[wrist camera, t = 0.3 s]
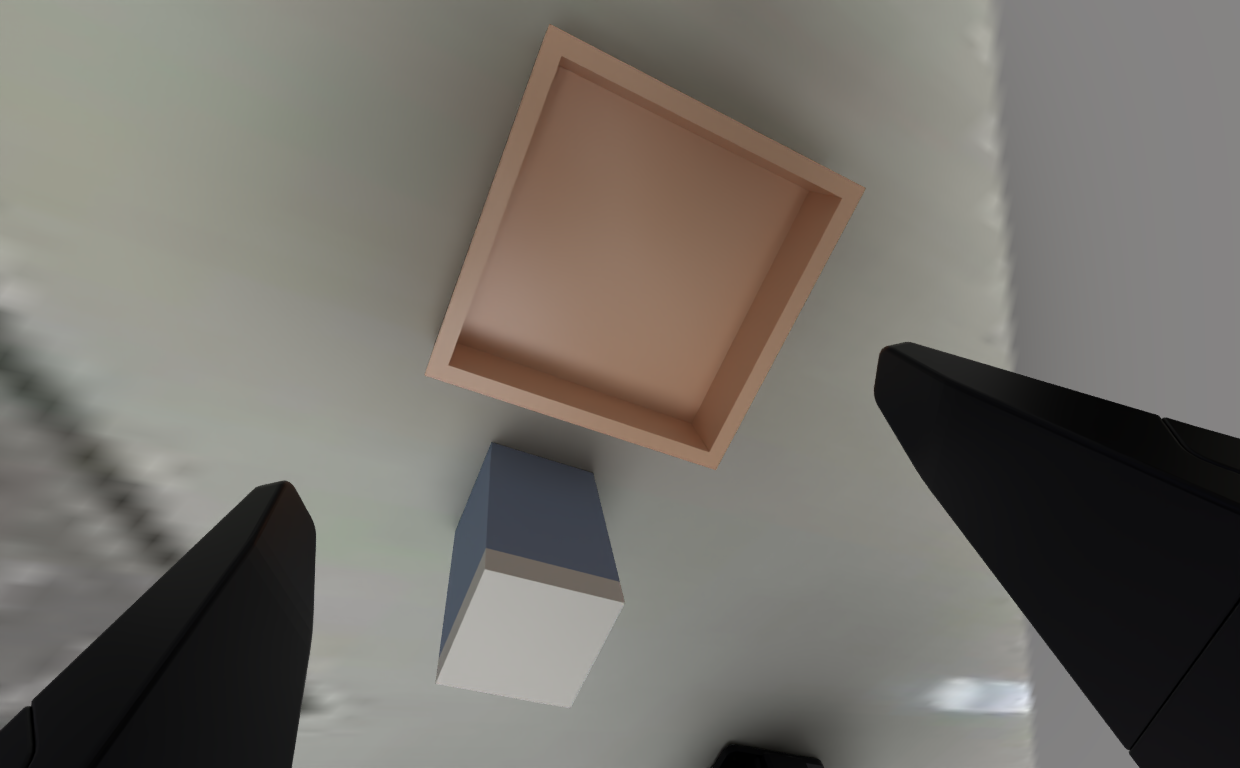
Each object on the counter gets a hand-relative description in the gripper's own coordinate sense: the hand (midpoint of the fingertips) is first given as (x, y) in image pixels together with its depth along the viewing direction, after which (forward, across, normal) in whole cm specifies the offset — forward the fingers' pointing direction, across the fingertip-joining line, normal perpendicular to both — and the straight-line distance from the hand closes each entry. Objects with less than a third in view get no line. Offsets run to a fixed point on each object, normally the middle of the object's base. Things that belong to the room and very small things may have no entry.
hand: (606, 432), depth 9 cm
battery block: (+13, +2, +13) cm, 18 cm away
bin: (+14, -3, +4) cm, 15 cm away
